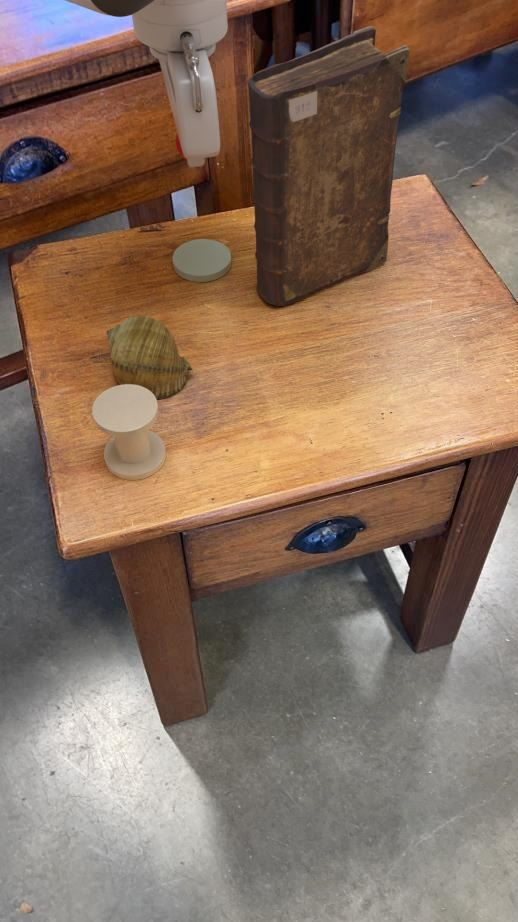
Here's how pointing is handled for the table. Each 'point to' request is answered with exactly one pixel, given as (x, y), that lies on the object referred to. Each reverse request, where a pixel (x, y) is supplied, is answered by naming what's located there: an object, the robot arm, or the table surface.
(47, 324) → the table surface
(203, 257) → the plate
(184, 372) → the seashell
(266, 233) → the book
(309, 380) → the table surface
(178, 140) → the strawberry
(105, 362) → the table surface
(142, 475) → the stand
